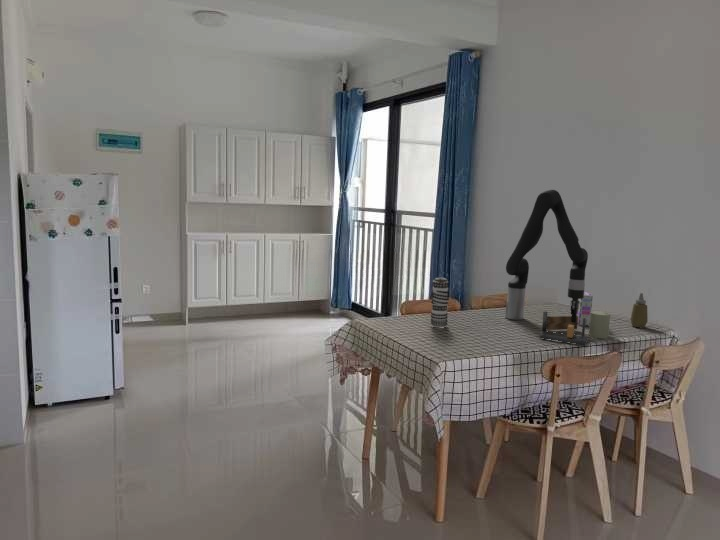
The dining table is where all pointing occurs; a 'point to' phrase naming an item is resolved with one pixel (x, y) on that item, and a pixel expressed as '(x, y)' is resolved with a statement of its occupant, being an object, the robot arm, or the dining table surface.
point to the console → (564, 338)
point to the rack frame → (558, 332)
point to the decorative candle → (439, 302)
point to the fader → (570, 331)
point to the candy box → (585, 309)
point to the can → (599, 324)
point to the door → (560, 322)
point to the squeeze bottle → (639, 312)
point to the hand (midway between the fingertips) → (573, 322)
